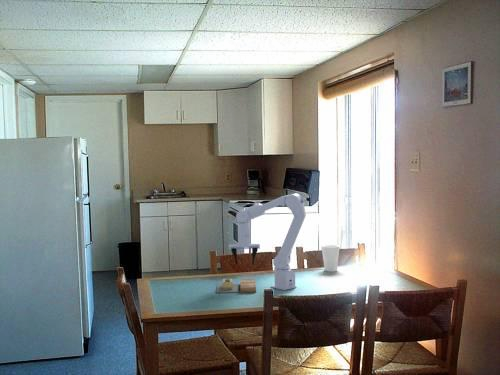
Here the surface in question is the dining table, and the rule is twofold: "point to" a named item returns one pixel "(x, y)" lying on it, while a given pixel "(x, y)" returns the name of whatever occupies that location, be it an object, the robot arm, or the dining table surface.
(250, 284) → the body
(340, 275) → the dining table surface
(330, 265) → the foam cup
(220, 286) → the mat
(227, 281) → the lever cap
